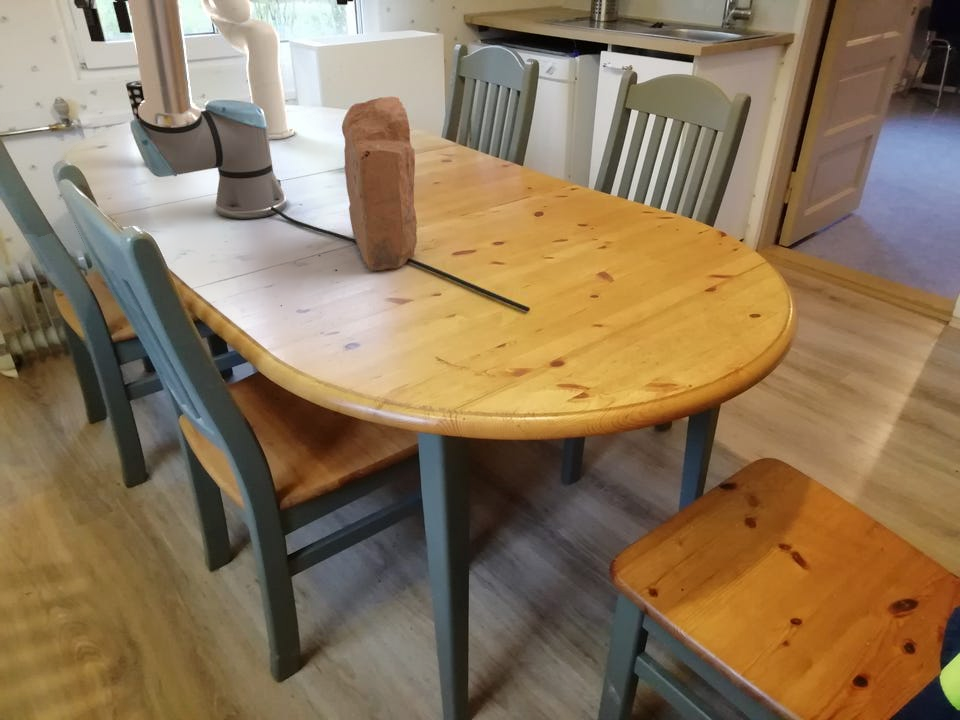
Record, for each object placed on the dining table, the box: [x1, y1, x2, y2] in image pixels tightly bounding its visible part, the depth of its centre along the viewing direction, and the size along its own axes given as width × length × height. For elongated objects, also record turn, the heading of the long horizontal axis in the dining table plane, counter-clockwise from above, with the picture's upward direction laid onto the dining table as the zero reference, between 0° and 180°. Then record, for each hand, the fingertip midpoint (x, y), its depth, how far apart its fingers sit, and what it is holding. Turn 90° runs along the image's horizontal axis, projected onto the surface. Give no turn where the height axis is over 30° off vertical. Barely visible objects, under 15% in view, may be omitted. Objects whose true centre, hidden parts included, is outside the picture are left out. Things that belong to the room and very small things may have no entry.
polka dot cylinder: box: [125, 80, 145, 120], centre depth 181 cm, size 8×8×20 cm
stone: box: [341, 96, 418, 271], centre depth 131 cm, size 22×11×28 cm, turn 18°
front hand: (113, 37), depth 158 cm, fingers open, 13 cm apart
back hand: (345, 2), depth 211 cm, fingers open, 9 cm apart
